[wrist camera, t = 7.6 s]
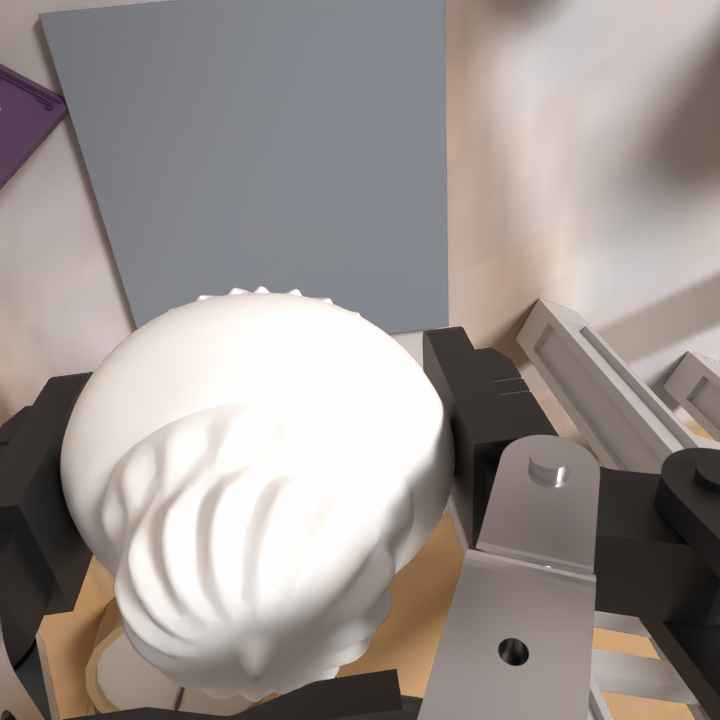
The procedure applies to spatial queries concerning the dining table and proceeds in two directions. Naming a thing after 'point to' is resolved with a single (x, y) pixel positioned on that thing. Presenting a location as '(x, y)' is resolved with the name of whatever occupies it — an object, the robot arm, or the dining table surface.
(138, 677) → the alarm clock
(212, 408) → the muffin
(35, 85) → the game card
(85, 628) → the dining table surface
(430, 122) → the rubber mat
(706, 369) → the stool
